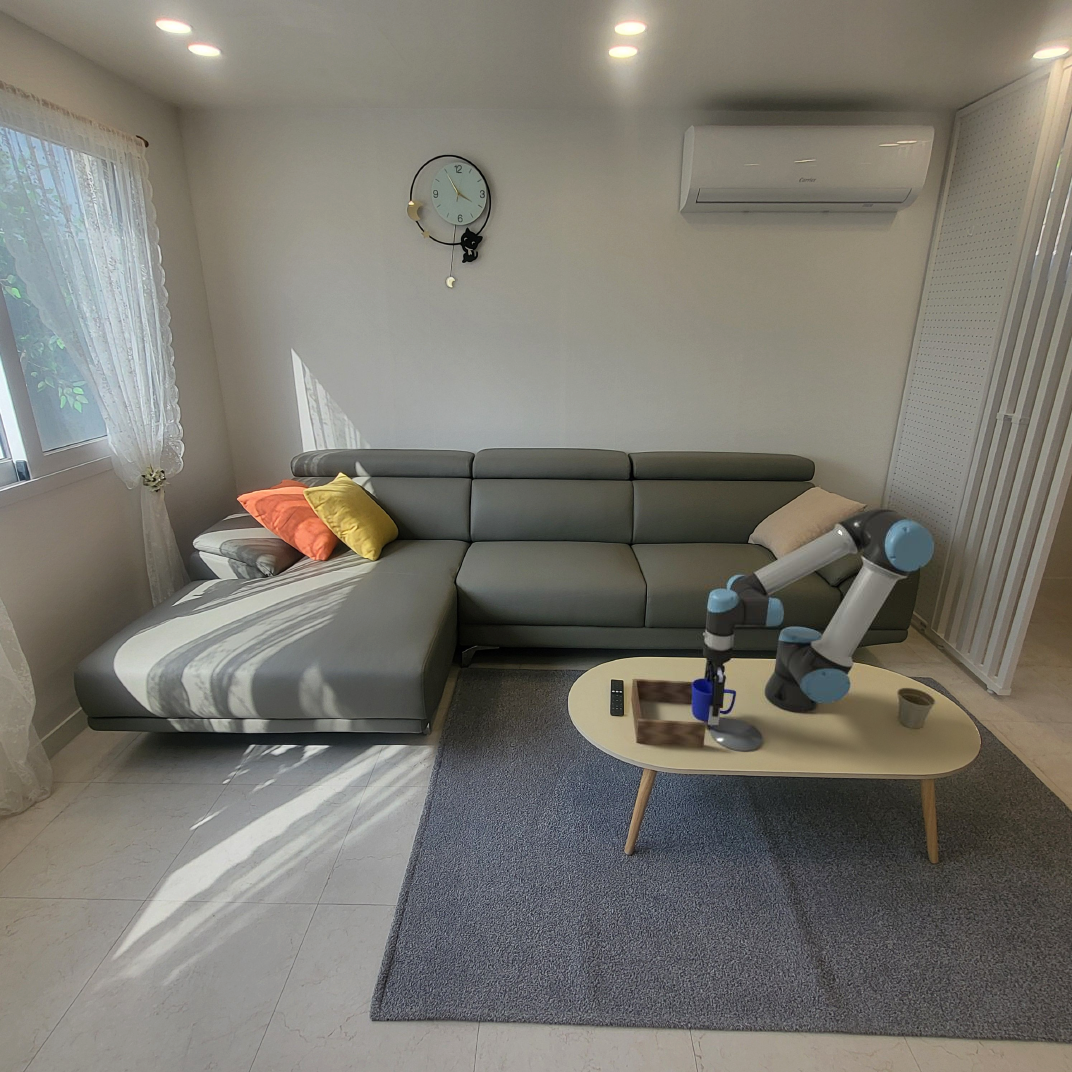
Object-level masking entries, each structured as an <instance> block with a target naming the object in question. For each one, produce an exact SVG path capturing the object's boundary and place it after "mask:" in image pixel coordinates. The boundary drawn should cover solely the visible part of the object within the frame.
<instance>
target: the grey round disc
mask: <svg viewBox="0 0 1072 1072" xmlns="http://www.w3.org/2000/svg"><path fill="white" fill-rule="evenodd" d="M709 733H710V735H711V737H712V739H713V740H714V741H715V742H716V743H717V744H719V745H720V746H722V747H724V748H726V749H729V750H731V751H735V752H744V753H745V752H753V751H755V750H757V749H760V748H761V746H762V744H763V740H764V739H763V734H762V733H761V731H760V730H759V729H758V728H757V727H756V726H755V725H753V724H752V723H749V722H747V721H745V720H743V719H739V718H733V717H725V718H724V717H723V718H719V724H718V725H710V727H709Z"/></svg>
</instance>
